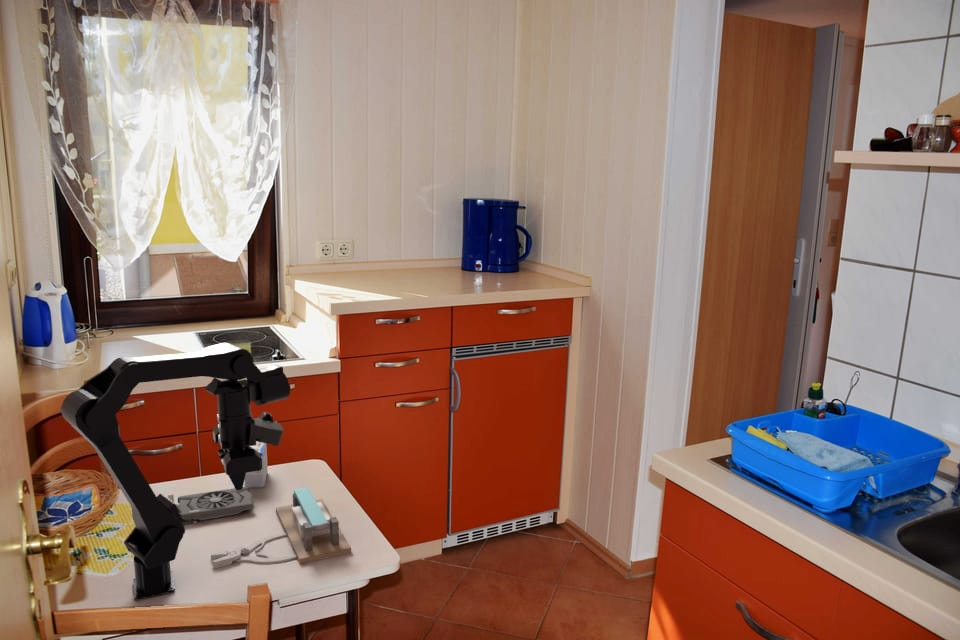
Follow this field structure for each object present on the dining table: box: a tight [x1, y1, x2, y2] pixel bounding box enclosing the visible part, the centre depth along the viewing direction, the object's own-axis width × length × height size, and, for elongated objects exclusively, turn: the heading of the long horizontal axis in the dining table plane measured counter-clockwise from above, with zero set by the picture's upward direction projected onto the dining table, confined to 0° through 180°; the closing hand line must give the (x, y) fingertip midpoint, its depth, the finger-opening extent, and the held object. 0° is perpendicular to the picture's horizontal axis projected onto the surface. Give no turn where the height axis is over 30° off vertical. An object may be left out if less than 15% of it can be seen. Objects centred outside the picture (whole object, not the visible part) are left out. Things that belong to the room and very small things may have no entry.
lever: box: [293, 486, 330, 532], centre depth 151 cm, size 17×3×1 cm, turn 26°
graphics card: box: [167, 486, 255, 525], centre depth 158 cm, size 17×4×12 cm
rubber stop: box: [292, 493, 300, 507], centre depth 158 cm, size 2×4×5 cm, turn 116°
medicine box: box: [244, 441, 268, 489], centre depth 173 cm, size 8×4×9 cm, turn 10°
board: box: [275, 498, 352, 565], centre depth 151 cm, size 22×10×6 cm, turn 26°
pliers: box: [210, 532, 297, 569], centre depth 143 cm, size 10×2×15 cm
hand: (238, 488), depth 141 cm, fingers closed
